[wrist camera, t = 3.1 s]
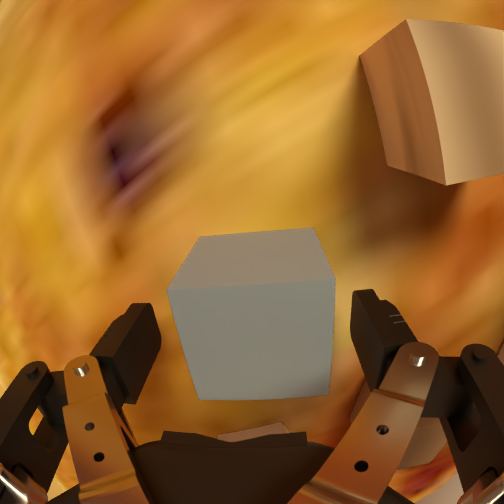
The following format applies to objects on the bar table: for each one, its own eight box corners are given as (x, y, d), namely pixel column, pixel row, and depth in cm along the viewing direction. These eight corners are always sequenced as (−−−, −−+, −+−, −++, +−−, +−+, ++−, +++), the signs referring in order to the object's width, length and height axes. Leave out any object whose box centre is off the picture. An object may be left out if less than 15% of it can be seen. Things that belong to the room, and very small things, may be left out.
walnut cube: (437, 361, 16) (467, 416, 11) (410, 410, 18) (429, 462, 13) (369, 366, 16) (391, 431, 11) (348, 416, 18) (360, 475, 13)
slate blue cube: (312, 227, 13) (335, 278, 8) (314, 322, 15) (328, 394, 10) (200, 236, 14) (166, 289, 9) (217, 327, 15) (198, 399, 11)
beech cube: (449, 53, 9) (513, 32, 5) (470, 151, 11) (540, 166, 6) (358, 56, 10) (405, 19, 6) (386, 165, 12) (446, 185, 7)
